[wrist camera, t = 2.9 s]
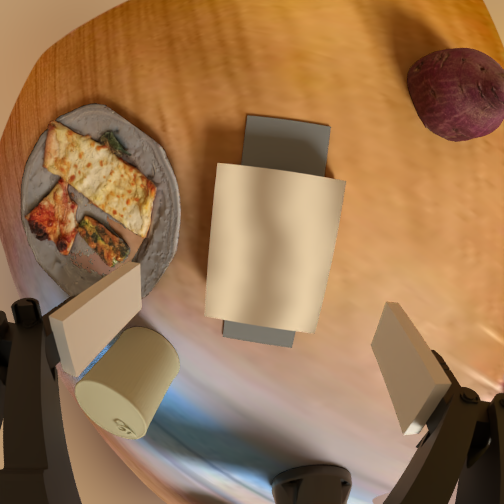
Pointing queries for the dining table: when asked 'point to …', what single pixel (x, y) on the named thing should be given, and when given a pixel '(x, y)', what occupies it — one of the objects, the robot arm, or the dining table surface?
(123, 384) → the can
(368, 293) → the dining table surface
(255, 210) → the beige wavy block
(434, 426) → the robot arm
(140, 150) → the food plate
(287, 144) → the mat
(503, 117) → the vegetable
